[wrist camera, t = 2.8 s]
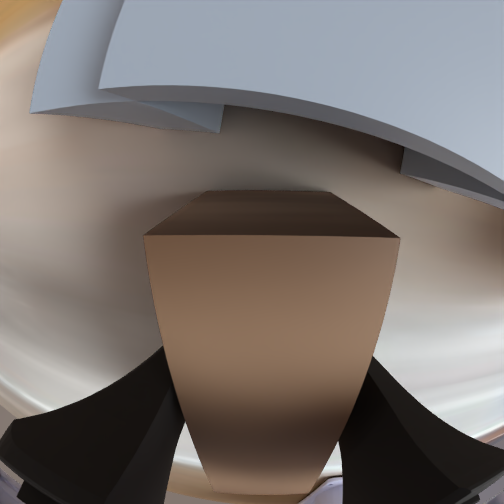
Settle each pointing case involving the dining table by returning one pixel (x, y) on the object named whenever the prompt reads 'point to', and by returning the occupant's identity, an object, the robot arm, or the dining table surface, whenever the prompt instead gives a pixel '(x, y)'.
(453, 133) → the block
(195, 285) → the peg
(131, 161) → the dining table surface
